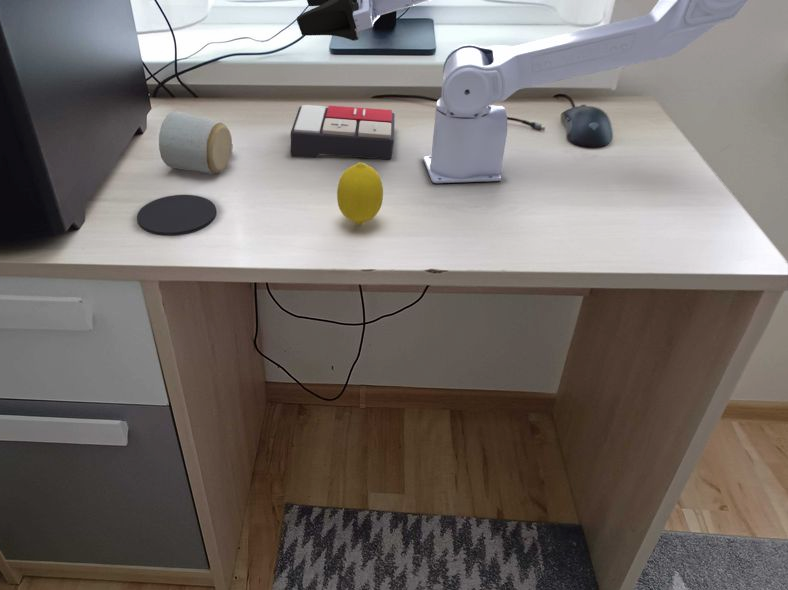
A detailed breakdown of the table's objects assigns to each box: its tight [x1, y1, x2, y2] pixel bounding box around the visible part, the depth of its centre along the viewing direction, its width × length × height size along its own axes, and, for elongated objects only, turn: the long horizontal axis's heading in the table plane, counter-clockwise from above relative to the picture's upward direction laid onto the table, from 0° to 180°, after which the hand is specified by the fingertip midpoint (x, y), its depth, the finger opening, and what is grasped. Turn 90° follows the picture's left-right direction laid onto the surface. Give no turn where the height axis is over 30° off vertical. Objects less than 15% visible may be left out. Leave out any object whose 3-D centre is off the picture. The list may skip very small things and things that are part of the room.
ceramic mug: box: [158, 110, 234, 174], centre depth 92 cm, size 11×8×8 cm
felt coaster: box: [136, 194, 217, 236], centre depth 83 cm, size 10×10×1 cm
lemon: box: [336, 161, 384, 226], centre depth 78 cm, size 6×6×8 cm
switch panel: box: [290, 104, 396, 160], centre depth 98 cm, size 11×4×15 cm
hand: (303, 11), depth 82 cm, fingers open, 7 cm apart
